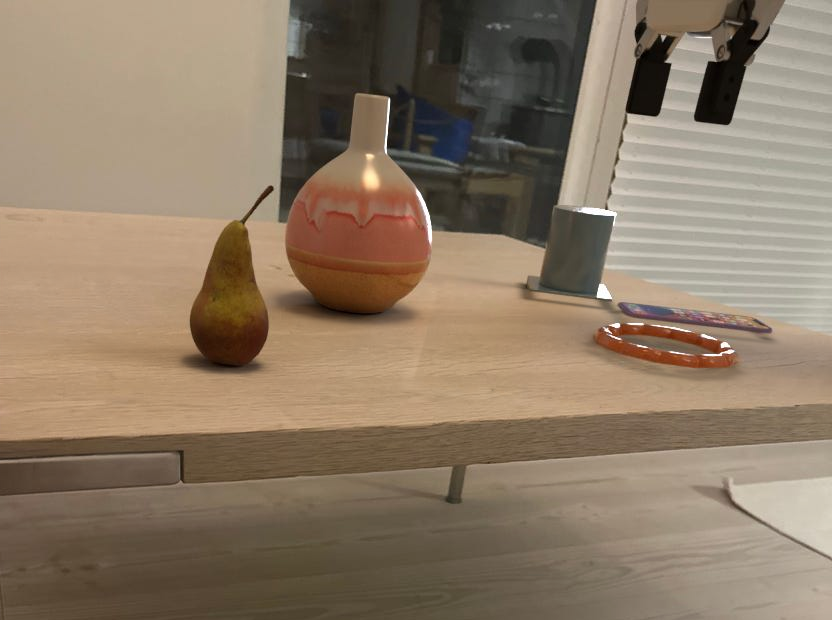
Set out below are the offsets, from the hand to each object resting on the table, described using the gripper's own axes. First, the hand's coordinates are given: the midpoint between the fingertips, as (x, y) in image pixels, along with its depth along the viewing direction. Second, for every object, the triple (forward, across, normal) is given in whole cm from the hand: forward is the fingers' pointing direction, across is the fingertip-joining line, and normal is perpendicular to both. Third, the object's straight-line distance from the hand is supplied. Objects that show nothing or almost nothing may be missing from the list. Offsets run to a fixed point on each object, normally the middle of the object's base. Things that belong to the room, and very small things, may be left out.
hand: (674, 118), depth 76 cm
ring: (+18, -3, -2) cm, 18 cm away
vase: (+19, +13, +22) cm, 32 cm away
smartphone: (+18, +9, -15) cm, 25 cm away
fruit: (+19, -7, +38) cm, 43 cm away
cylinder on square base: (+18, +22, -7) cm, 30 cm away
